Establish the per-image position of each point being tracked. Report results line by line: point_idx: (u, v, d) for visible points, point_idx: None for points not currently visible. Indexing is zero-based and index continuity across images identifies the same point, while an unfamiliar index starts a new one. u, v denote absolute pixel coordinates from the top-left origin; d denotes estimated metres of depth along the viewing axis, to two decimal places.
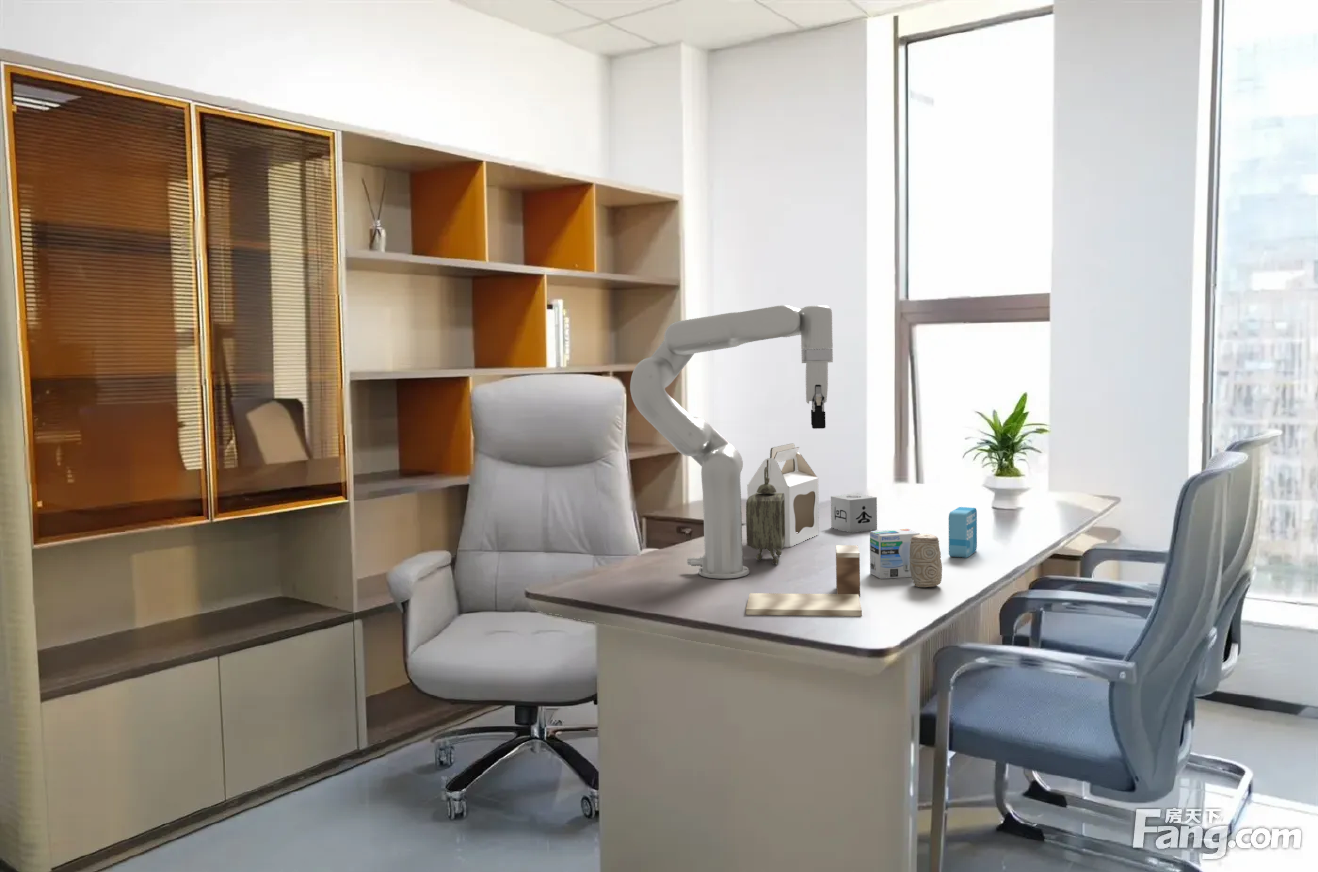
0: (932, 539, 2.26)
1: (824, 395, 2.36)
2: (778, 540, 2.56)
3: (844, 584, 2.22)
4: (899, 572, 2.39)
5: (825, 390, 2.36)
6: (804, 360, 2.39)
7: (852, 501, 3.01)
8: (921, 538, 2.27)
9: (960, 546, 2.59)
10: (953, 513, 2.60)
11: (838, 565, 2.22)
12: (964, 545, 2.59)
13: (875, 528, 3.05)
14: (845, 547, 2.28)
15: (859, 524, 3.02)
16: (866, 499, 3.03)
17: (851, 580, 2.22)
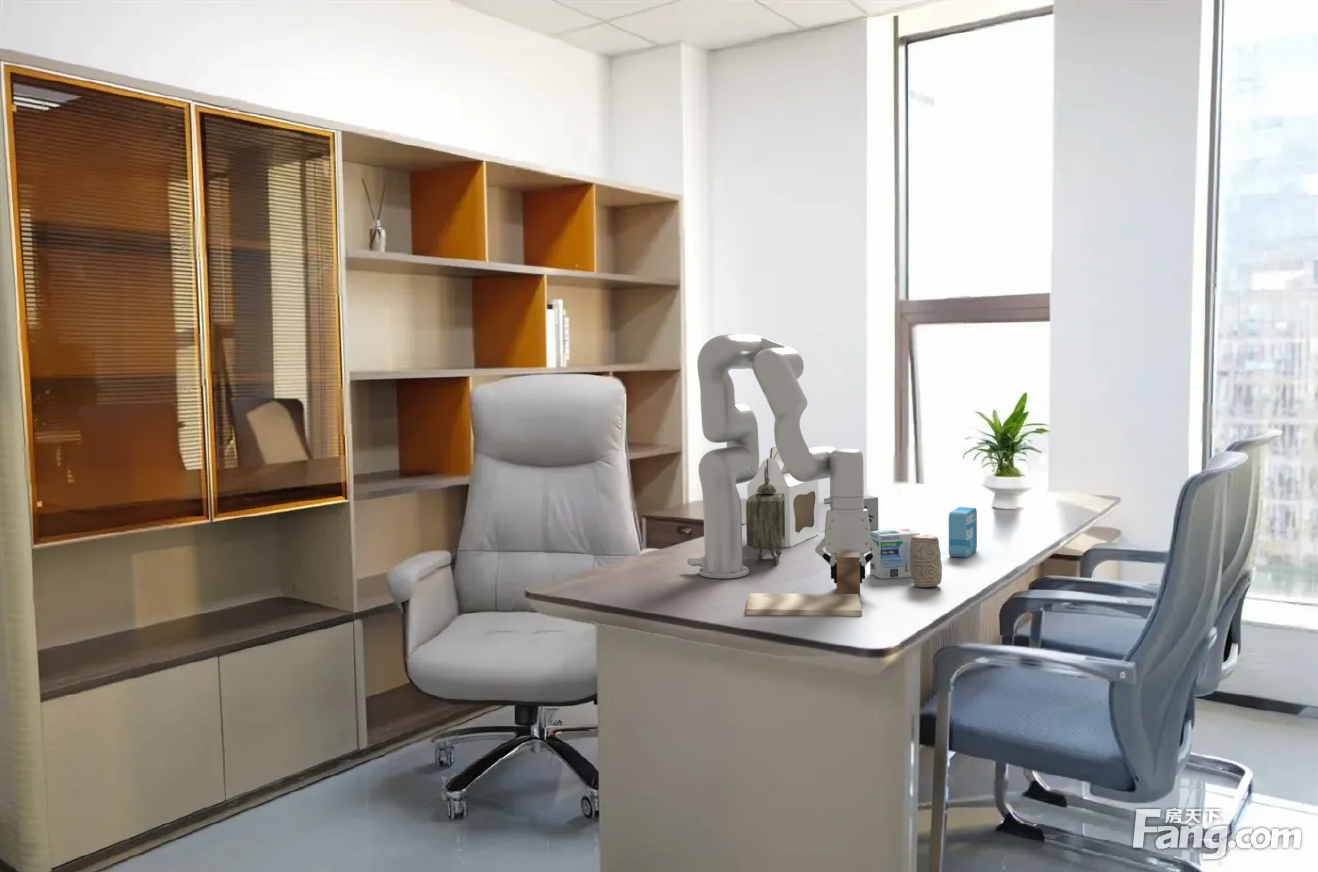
0: (932, 539, 2.26)
1: None
2: (778, 540, 2.56)
3: (844, 584, 2.22)
4: (899, 572, 2.39)
5: None
6: (857, 508, 2.22)
7: None
8: (921, 538, 2.27)
9: (960, 546, 2.59)
10: (953, 513, 2.60)
11: (838, 565, 2.22)
12: (964, 545, 2.59)
13: (876, 528, 3.05)
14: None
15: None
16: (867, 499, 3.03)
17: (851, 579, 2.22)
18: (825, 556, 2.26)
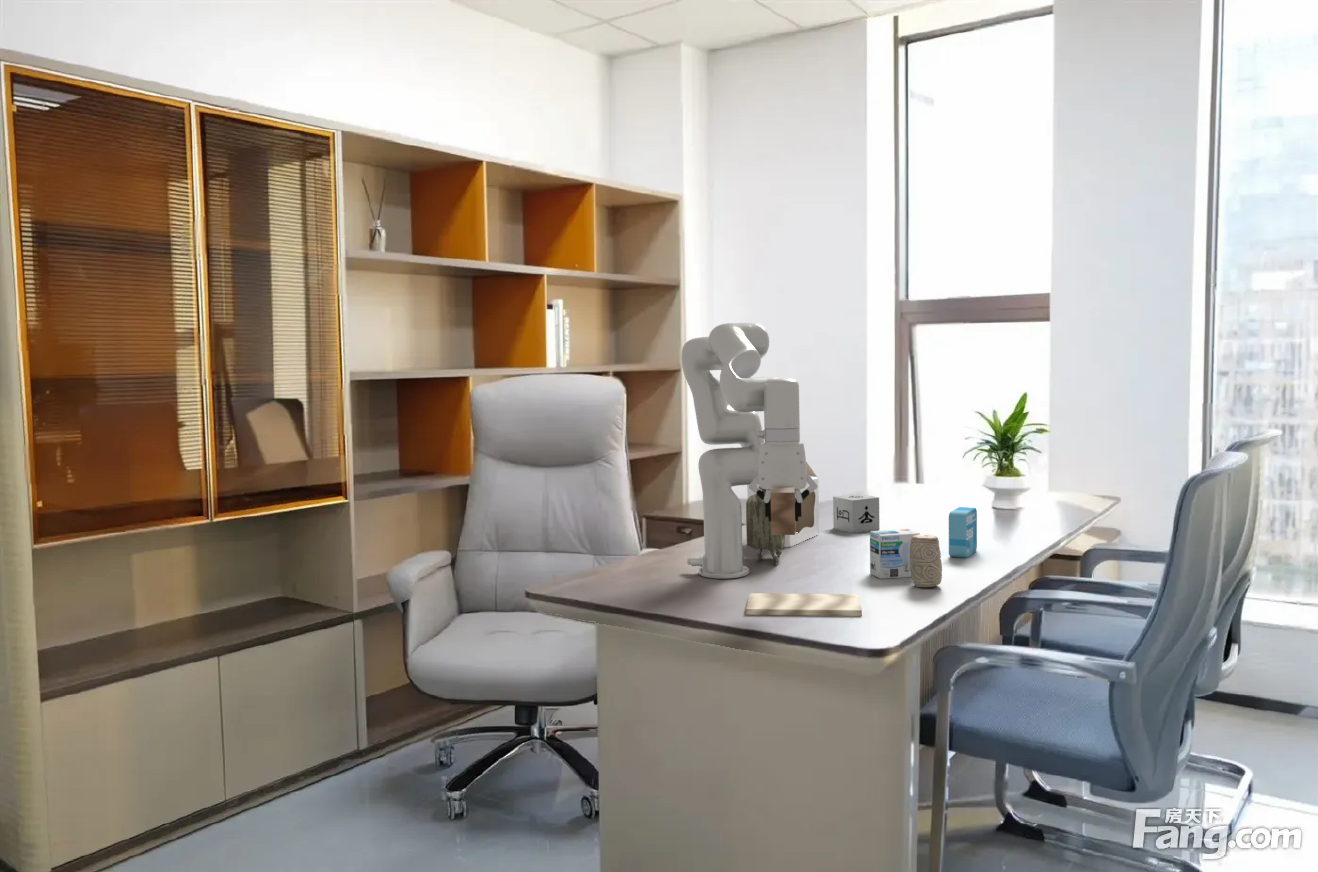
0: (932, 539, 2.26)
1: None
2: (778, 540, 2.56)
3: (778, 521, 2.09)
4: (899, 572, 2.39)
5: None
6: (791, 441, 2.09)
7: (855, 501, 3.00)
8: (921, 538, 2.27)
9: (960, 546, 2.59)
10: (953, 513, 2.60)
11: (772, 501, 2.09)
12: (964, 545, 2.59)
13: (877, 528, 3.05)
14: None
15: (862, 524, 3.02)
16: (869, 499, 3.02)
17: (785, 516, 2.09)
18: (759, 492, 2.13)
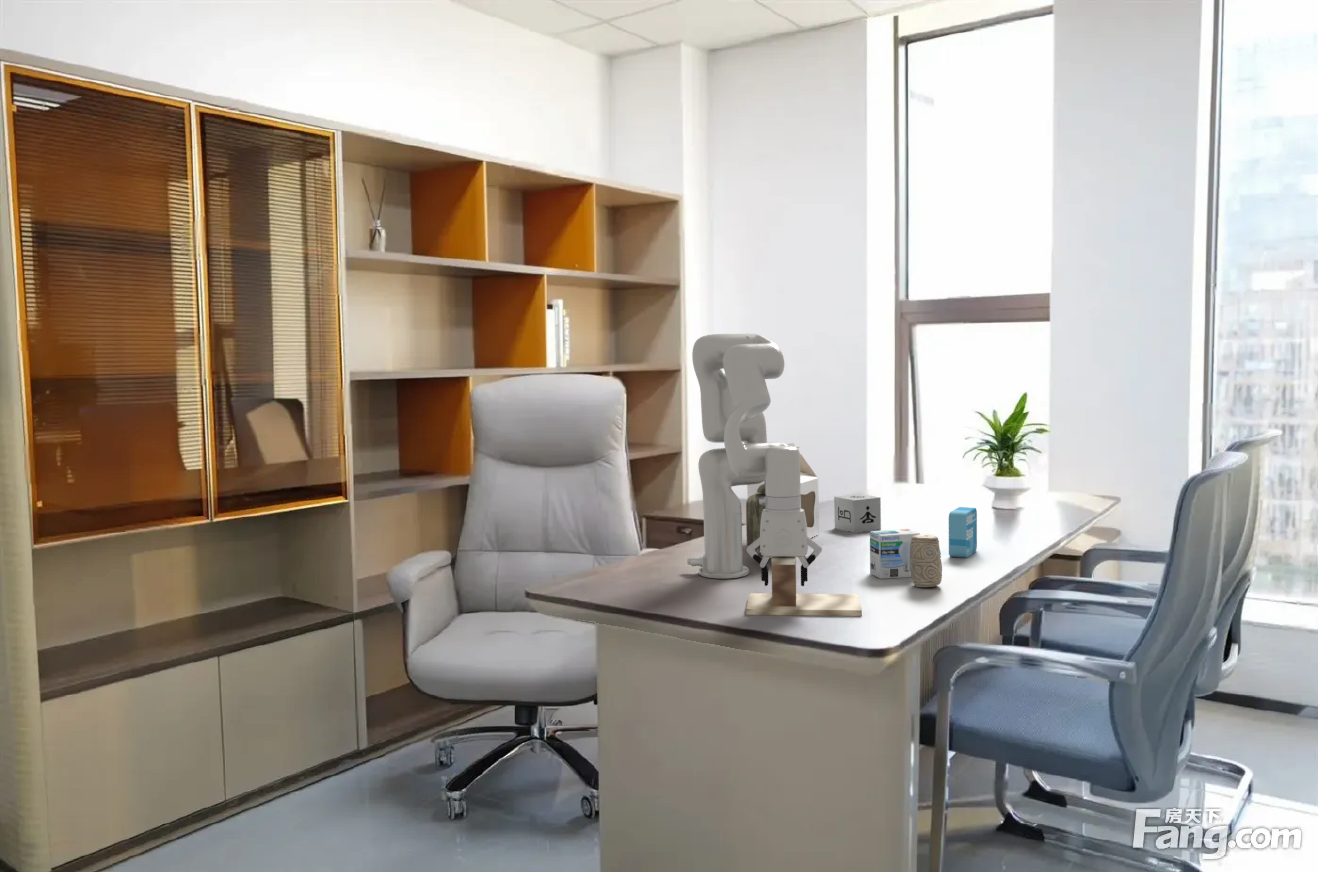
0: (932, 539, 2.26)
1: None
2: None
3: (779, 592, 2.10)
4: (899, 572, 2.39)
5: None
6: (792, 509, 2.10)
7: (856, 501, 3.00)
8: (921, 538, 2.27)
9: (960, 546, 2.59)
10: (953, 513, 2.60)
11: (773, 573, 2.10)
12: (964, 545, 2.59)
13: (879, 528, 3.04)
14: None
15: (863, 524, 3.02)
16: (870, 499, 3.02)
17: (786, 588, 2.10)
18: (755, 557, 2.14)
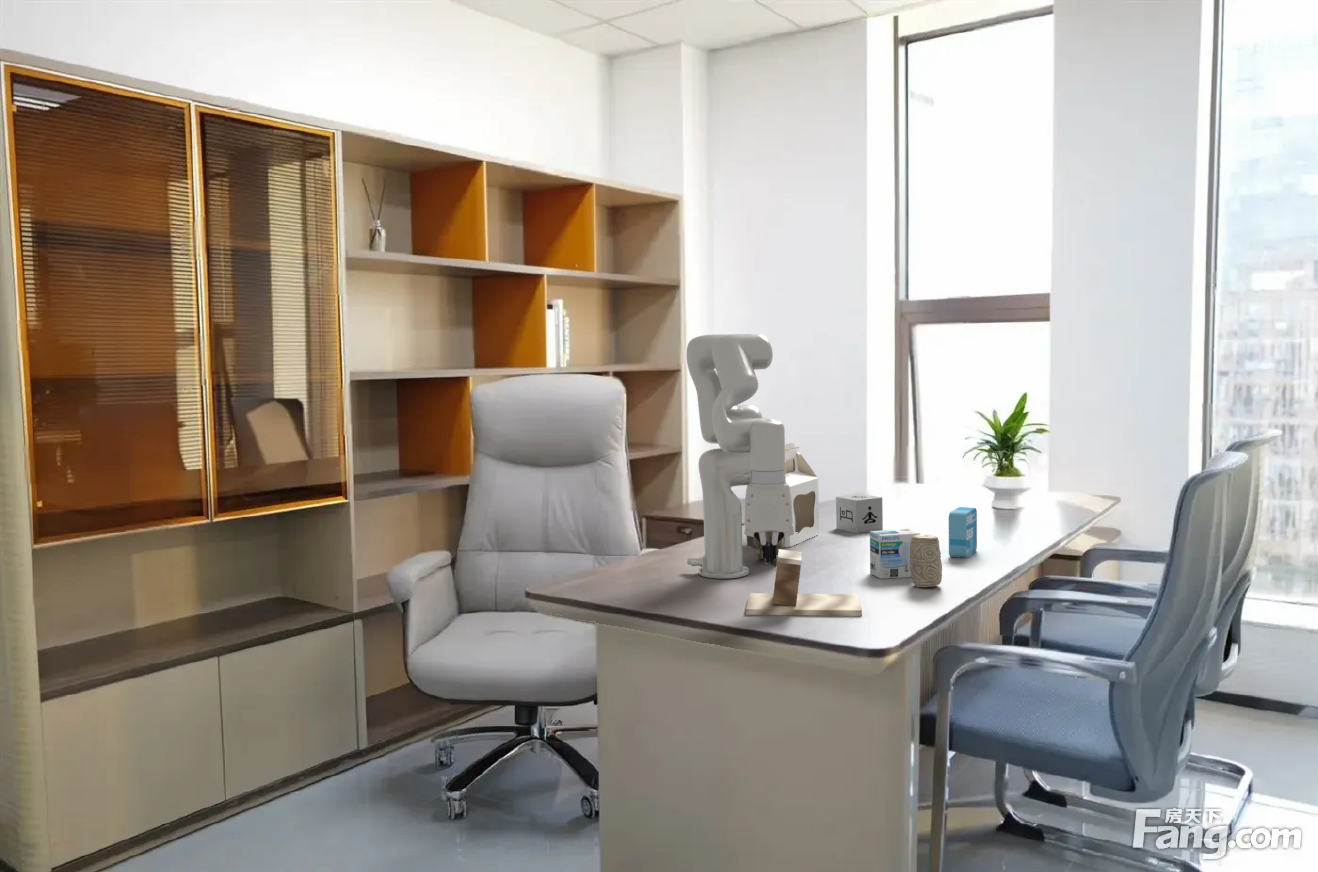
0: (932, 539, 2.26)
1: None
2: None
3: (781, 590, 2.10)
4: (899, 572, 2.39)
5: None
6: (777, 483, 2.10)
7: (858, 501, 3.00)
8: (921, 538, 2.27)
9: (960, 546, 2.59)
10: (953, 513, 2.60)
11: (777, 570, 2.10)
12: (964, 545, 2.59)
13: (881, 528, 3.04)
14: (788, 552, 2.16)
15: (865, 524, 3.01)
16: (872, 499, 3.02)
17: (789, 587, 2.10)
18: (756, 535, 2.13)
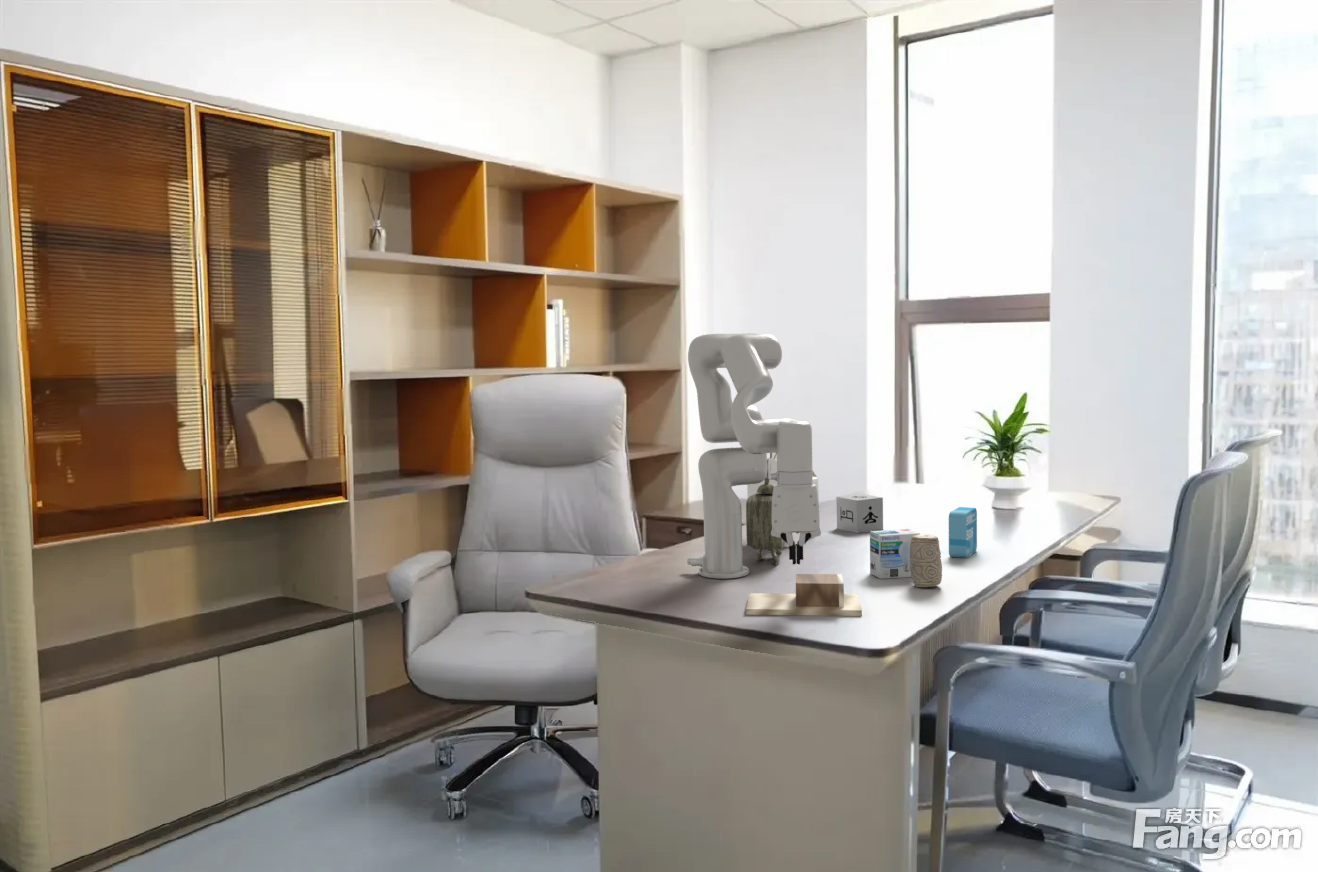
0: (932, 539, 2.26)
1: None
2: (778, 540, 2.56)
3: (809, 590, 2.09)
4: (899, 572, 2.39)
5: None
6: (804, 484, 2.09)
7: (859, 501, 3.00)
8: (921, 538, 2.27)
9: (960, 546, 2.59)
10: (953, 513, 2.60)
11: (830, 585, 2.09)
12: (964, 545, 2.59)
13: (881, 528, 3.04)
14: None
15: (866, 524, 3.01)
16: (872, 499, 3.02)
17: (814, 598, 2.09)
18: (783, 535, 2.13)
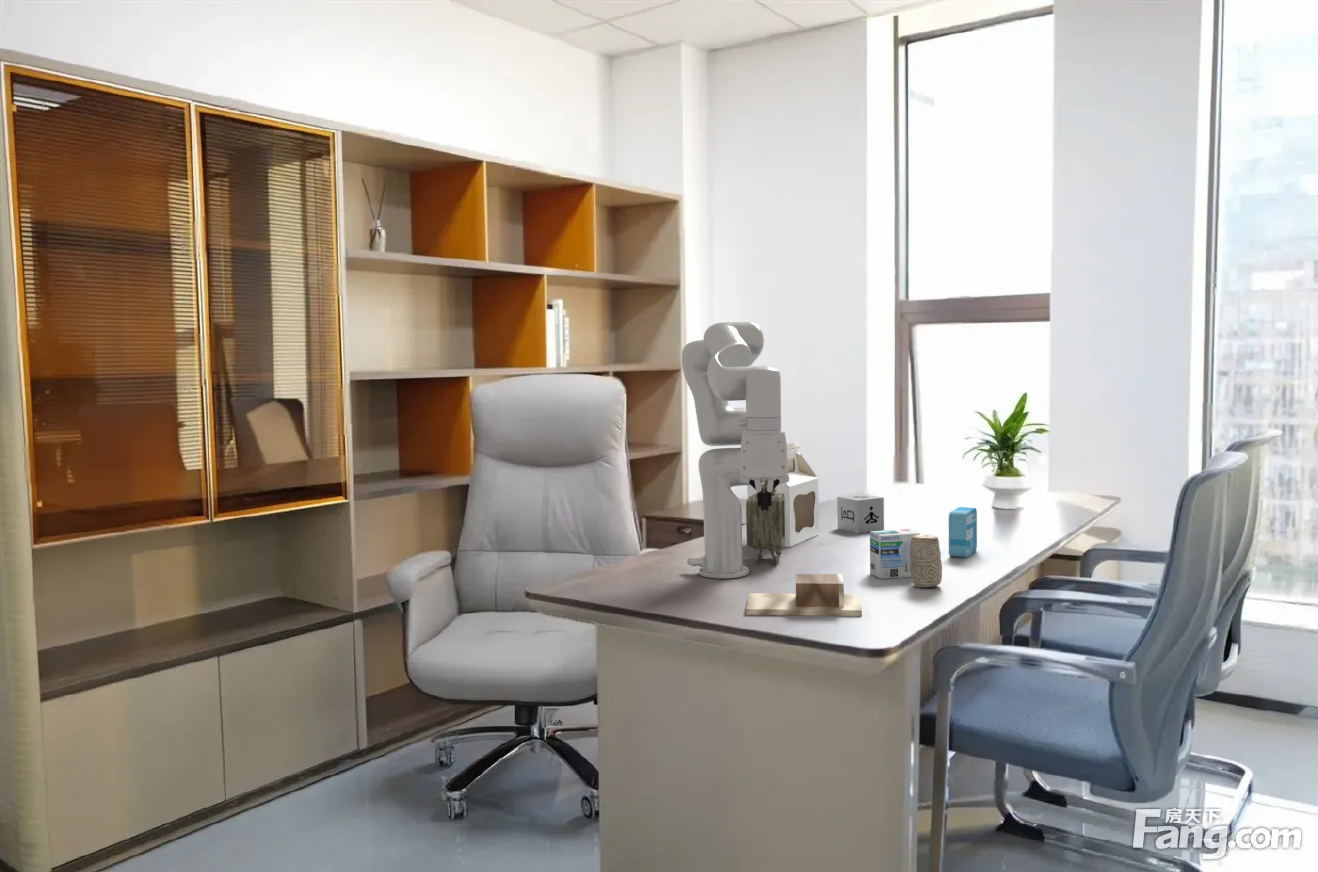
0: (932, 539, 2.26)
1: None
2: (778, 540, 2.56)
3: (809, 590, 2.09)
4: (899, 572, 2.39)
5: None
6: (772, 430, 2.10)
7: (860, 501, 2.99)
8: (921, 538, 2.27)
9: (960, 546, 2.59)
10: (953, 513, 2.60)
11: (830, 585, 2.09)
12: (964, 545, 2.59)
13: (882, 528, 3.04)
14: None
15: (867, 524, 3.01)
16: (873, 499, 3.02)
17: (814, 598, 2.09)
18: (751, 482, 2.13)
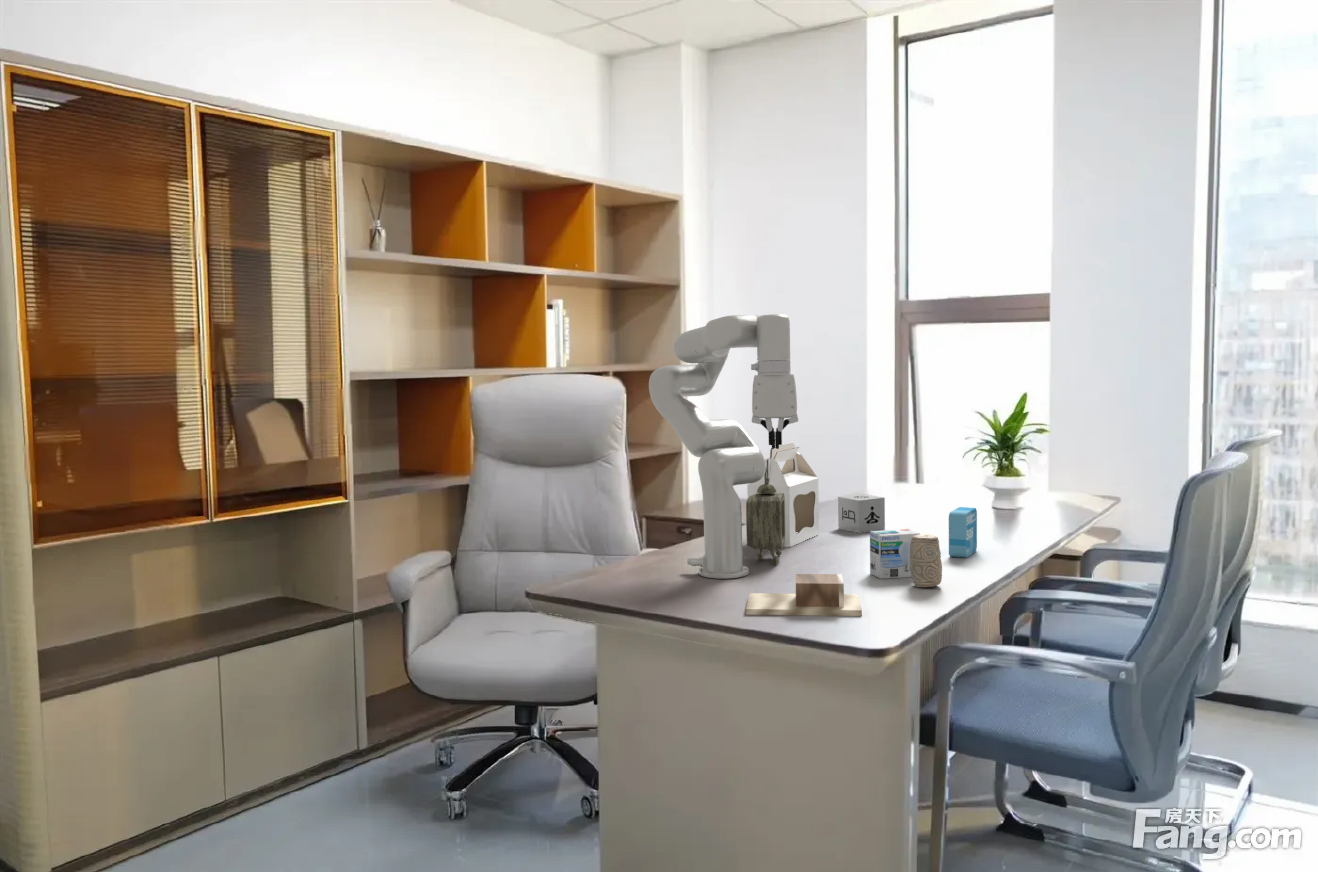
0: (932, 539, 2.26)
1: None
2: (778, 540, 2.56)
3: (809, 590, 2.09)
4: (899, 572, 2.39)
5: None
6: (782, 372, 2.24)
7: (861, 501, 2.99)
8: (921, 538, 2.27)
9: (960, 546, 2.59)
10: (953, 513, 2.60)
11: (830, 585, 2.09)
12: (964, 545, 2.59)
13: (883, 528, 3.04)
14: None
15: (868, 524, 3.01)
16: (874, 499, 3.02)
17: (814, 598, 2.09)
18: (763, 422, 2.27)
